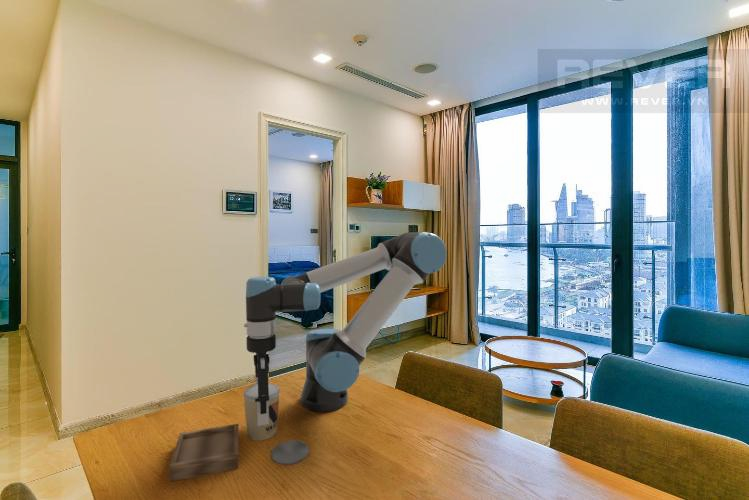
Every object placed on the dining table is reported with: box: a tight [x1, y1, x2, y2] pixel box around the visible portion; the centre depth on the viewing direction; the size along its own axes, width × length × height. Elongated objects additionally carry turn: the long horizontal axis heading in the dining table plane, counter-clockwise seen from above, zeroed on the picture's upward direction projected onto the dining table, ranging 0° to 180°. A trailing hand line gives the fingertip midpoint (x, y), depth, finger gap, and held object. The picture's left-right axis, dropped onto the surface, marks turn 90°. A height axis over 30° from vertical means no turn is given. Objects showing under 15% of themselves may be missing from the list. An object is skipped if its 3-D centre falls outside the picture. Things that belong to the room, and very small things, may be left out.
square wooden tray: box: [168, 423, 240, 483], centre depth 89 cm, size 14×14×4 cm
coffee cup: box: [243, 382, 280, 441], centre depth 100 cm, size 9×9×12 cm
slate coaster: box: [270, 440, 309, 466], centre depth 91 cm, size 9×9×1 cm
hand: (261, 411), depth 100 cm, fingers open, 13 cm apart
